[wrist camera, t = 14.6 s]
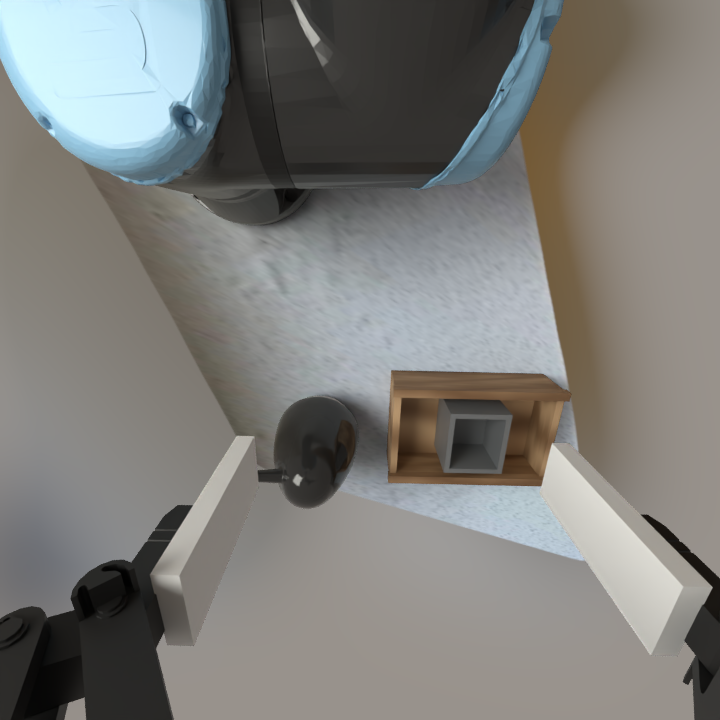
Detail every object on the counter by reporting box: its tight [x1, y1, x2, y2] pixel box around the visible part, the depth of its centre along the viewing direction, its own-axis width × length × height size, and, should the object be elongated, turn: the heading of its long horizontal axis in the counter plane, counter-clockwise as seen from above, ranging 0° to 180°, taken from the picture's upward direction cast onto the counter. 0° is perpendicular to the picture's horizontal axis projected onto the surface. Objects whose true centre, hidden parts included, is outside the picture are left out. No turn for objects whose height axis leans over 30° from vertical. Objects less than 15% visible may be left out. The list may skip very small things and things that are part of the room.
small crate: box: [434, 399, 513, 474], centre depth 43 cm, size 8×7×6 cm
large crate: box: [387, 370, 571, 486], centre depth 44 cm, size 13×20×6 cm, turn 89°
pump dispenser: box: [257, 396, 359, 509], centre depth 40 cm, size 10×10×15 cm
